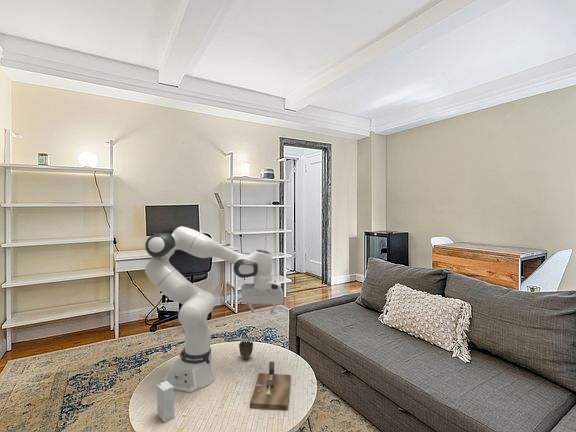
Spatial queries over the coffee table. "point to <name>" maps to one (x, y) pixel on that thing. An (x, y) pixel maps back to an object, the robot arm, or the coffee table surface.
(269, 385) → the tuning crank
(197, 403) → the coffee table surface
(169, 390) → the skincare box
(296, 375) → the coffee table surface
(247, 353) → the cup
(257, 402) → the board
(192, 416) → the coffee table surface
